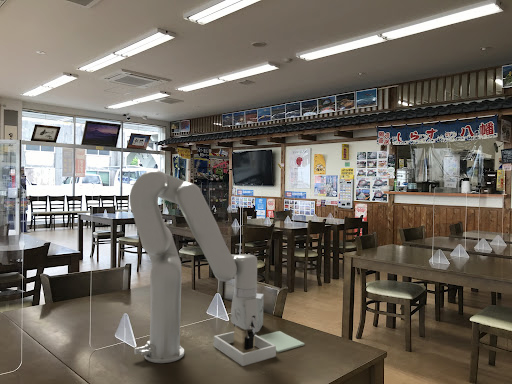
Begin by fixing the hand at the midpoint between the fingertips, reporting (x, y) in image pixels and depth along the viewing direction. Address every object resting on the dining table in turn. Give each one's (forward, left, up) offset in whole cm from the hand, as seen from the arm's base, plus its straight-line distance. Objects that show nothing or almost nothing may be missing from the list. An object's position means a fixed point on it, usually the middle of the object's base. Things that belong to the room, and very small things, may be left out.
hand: (244, 345), depth 133 cm
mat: (+15, 0, -2) cm, 15 cm away
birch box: (0, 0, -2) cm, 2 cm away
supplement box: (+15, +17, -2) cm, 23 cm away
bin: (0, 0, -2) cm, 2 cm away
